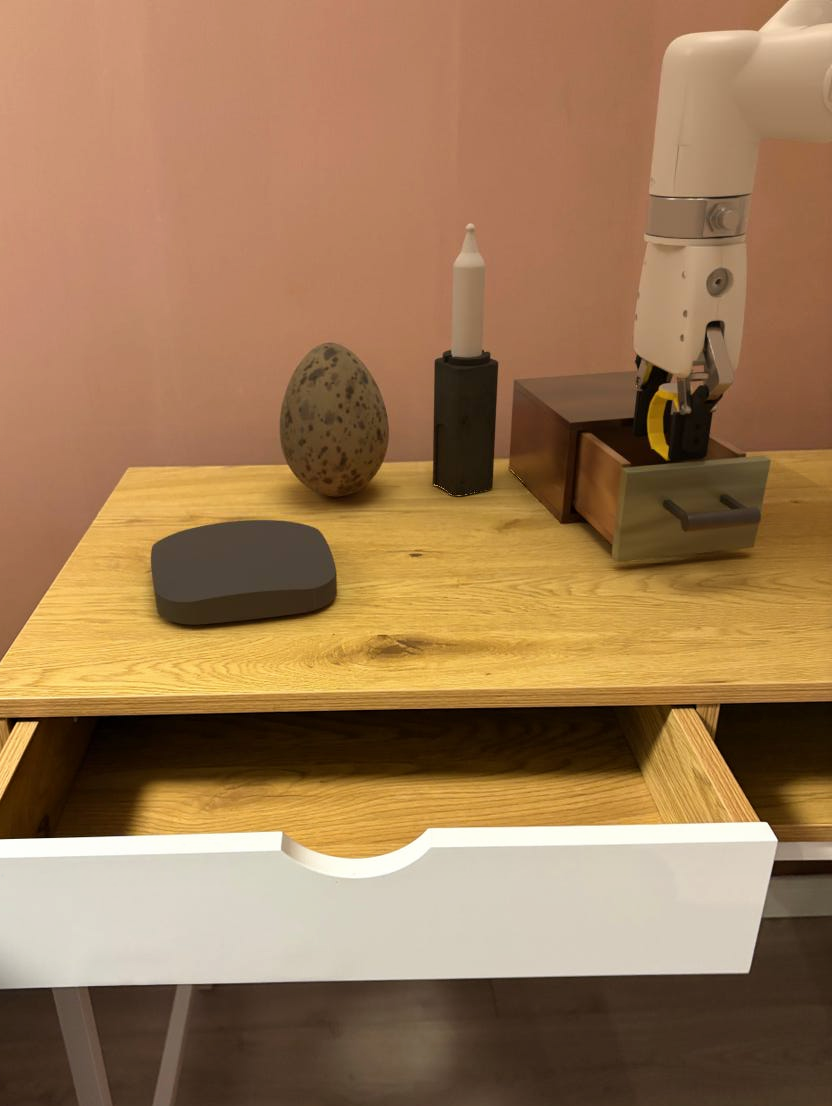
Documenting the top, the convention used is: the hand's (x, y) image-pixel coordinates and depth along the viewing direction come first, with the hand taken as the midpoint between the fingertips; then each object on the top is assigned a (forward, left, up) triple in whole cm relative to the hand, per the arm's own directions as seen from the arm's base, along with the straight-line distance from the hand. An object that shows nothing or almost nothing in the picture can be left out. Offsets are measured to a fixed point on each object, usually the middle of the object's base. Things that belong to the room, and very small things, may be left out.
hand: (668, 444), depth 84 cm
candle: (+13, -17, -9) cm, 23 cm away
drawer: (0, +1, -8) cm, 8 cm away
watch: (0, 0, -1) cm, 1 cm away
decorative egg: (+26, -18, -9) cm, 33 cm away
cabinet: (0, -13, -8) cm, 15 cm away
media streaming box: (+37, +1, -9) cm, 38 cm away
